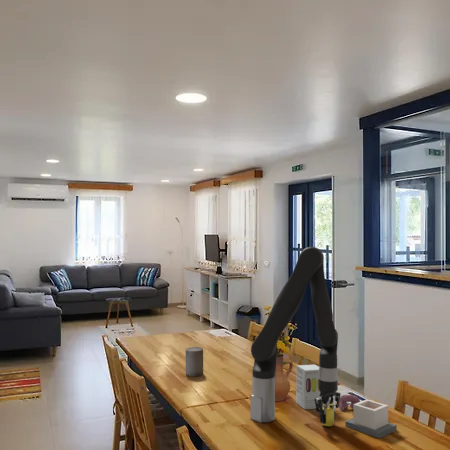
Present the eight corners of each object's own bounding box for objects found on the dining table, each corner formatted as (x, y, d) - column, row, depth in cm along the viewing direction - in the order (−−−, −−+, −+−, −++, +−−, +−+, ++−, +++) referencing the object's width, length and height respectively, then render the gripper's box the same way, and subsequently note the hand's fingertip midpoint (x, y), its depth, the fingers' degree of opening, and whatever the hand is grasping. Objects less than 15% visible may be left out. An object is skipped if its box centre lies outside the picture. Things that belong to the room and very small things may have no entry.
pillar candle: (204, 371, 265) (204, 344, 266) (201, 376, 255) (201, 348, 256) (187, 371, 266) (187, 344, 267) (183, 376, 256) (183, 348, 257)
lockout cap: (328, 427, 186) (328, 411, 186) (318, 423, 189) (318, 408, 189) (336, 424, 189) (336, 408, 189) (326, 420, 193) (326, 405, 193)
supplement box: (304, 409, 207) (304, 370, 207) (295, 402, 216) (295, 365, 216) (324, 407, 209) (324, 369, 210) (315, 401, 218) (315, 363, 219)
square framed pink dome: (379, 438, 177) (379, 413, 178) (345, 426, 189) (345, 403, 189) (396, 430, 185) (396, 406, 185) (362, 419, 197) (362, 396, 197)
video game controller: (360, 411, 209) (357, 395, 213) (363, 410, 205) (360, 393, 209) (337, 412, 209) (335, 395, 212) (340, 410, 205) (338, 393, 208)
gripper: (324, 383, 182) (323, 428, 182) (346, 377, 191) (346, 420, 191) (308, 379, 188) (308, 422, 187) (331, 372, 197) (330, 414, 197)
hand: (327, 421), depth 189 cm, fingers closed on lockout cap, 5 cm apart
